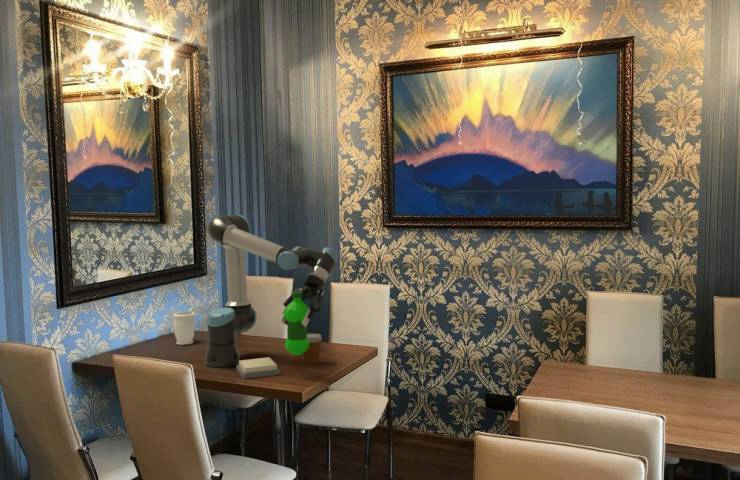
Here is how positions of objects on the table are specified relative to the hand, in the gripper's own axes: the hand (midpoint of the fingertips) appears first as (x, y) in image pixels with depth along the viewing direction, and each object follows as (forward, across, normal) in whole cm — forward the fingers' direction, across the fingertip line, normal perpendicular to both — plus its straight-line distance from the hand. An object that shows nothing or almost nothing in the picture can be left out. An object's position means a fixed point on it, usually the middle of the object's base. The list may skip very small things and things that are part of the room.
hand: (292, 323), depth 252 cm
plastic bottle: (+7, 0, -12) cm, 14 cm away
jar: (+3, +85, -30) cm, 90 cm away
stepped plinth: (+17, +18, -15) cm, 29 cm away
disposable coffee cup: (0, +7, -31) cm, 32 cm away
